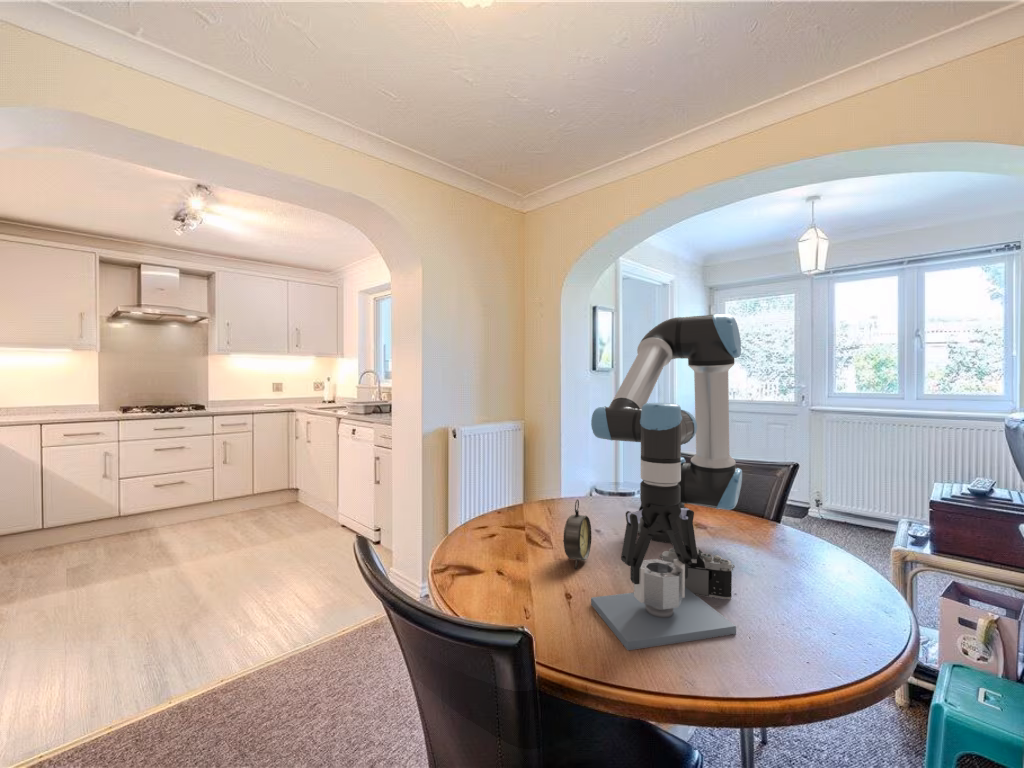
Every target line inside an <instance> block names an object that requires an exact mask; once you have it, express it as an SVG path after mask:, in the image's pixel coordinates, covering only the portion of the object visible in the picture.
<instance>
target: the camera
mask: <svg viewBox="0 0 1024 768" xmlns="http://www.w3.org/2000/svg"><path fill="white" fill-rule="evenodd" d="M696 548H697V555H698V557H697V559H695V560H694V559H692V564H691V565H688V577H687V579H685V587H686V588H687V589H688V590H690V591H691V592H692V593H694V594H695V595H696V596H700V597H701V596H702V597H707V596H708V597H707V598H712V597H715V599H718V598H723V599H722V600H725V599H730V600H731V599H732V588H733V587H732V582H733V581H732V574H733V570H734V568H735V567H736V566H735V564H732V561H731V560H728V559H725V558H722V556H720V555H718V554H717V555H712V554H711V553H707V552H703V551H702V550H701V549H700V548H699V547H698V546H696ZM659 558H660V560H663V561H668V562H672V563H674V559H677V560H679V559H678V557H677V555H676V553H675V550H674V548H669V549H668V551H667V550H666V551H665V550H664V551H662V554H659Z"/></svg>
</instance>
